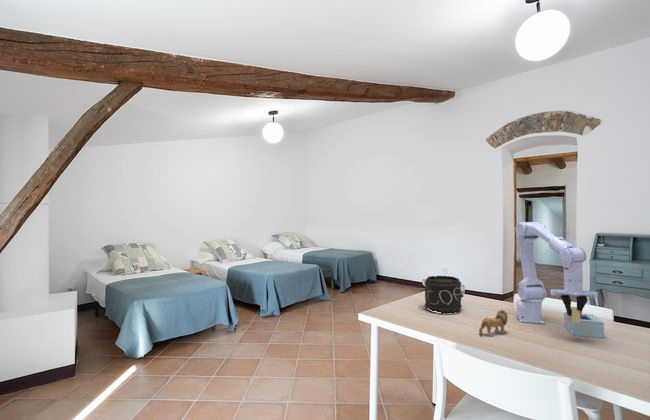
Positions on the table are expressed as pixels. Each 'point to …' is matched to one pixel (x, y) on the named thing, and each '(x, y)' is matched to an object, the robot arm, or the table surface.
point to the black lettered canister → (443, 294)
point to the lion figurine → (494, 322)
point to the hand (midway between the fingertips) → (573, 315)
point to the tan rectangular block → (575, 315)
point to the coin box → (585, 326)
